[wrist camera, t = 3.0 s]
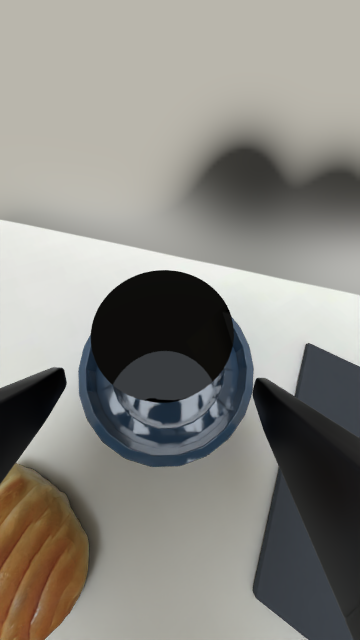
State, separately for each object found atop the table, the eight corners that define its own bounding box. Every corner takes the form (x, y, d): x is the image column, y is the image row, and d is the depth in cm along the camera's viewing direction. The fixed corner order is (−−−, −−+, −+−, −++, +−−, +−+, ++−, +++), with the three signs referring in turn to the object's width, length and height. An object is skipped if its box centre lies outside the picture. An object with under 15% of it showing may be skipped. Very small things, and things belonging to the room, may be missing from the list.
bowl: (199, 488, 13) (209, 522, 10) (68, 395, 16) (36, 393, 12) (253, 342, 19) (273, 328, 15) (150, 291, 22) (145, 268, 18)
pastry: (116, 508, 13) (95, 548, 9) (57, 654, 10) (-4, 789, 7) (18, 453, 14) (-33, 471, 11) (-59, 570, 11) (-162, 646, 8)
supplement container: (198, 335, 19) (223, 270, 10) (204, 401, 16) (248, 400, 7) (139, 335, 19) (103, 269, 9) (133, 403, 16) (73, 405, 6)
